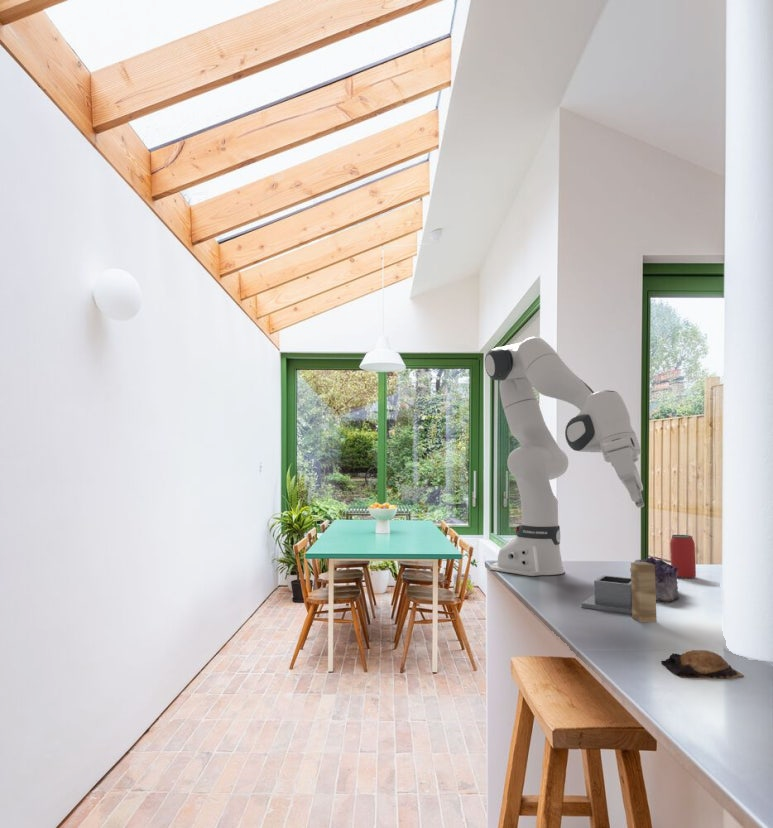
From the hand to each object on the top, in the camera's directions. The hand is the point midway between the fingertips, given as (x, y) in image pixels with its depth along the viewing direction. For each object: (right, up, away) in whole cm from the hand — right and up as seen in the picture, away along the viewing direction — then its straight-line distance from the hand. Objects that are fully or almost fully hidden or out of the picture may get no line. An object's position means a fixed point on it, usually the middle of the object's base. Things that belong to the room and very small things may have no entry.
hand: (638, 503), depth 144 cm
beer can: (+27, -27, +34) cm, 51 cm away
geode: (+10, -25, +11) cm, 29 cm away
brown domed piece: (-8, -22, -44) cm, 50 cm away
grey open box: (-6, -24, -1) cm, 25 cm away
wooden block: (-4, -23, -14) cm, 27 cm away
